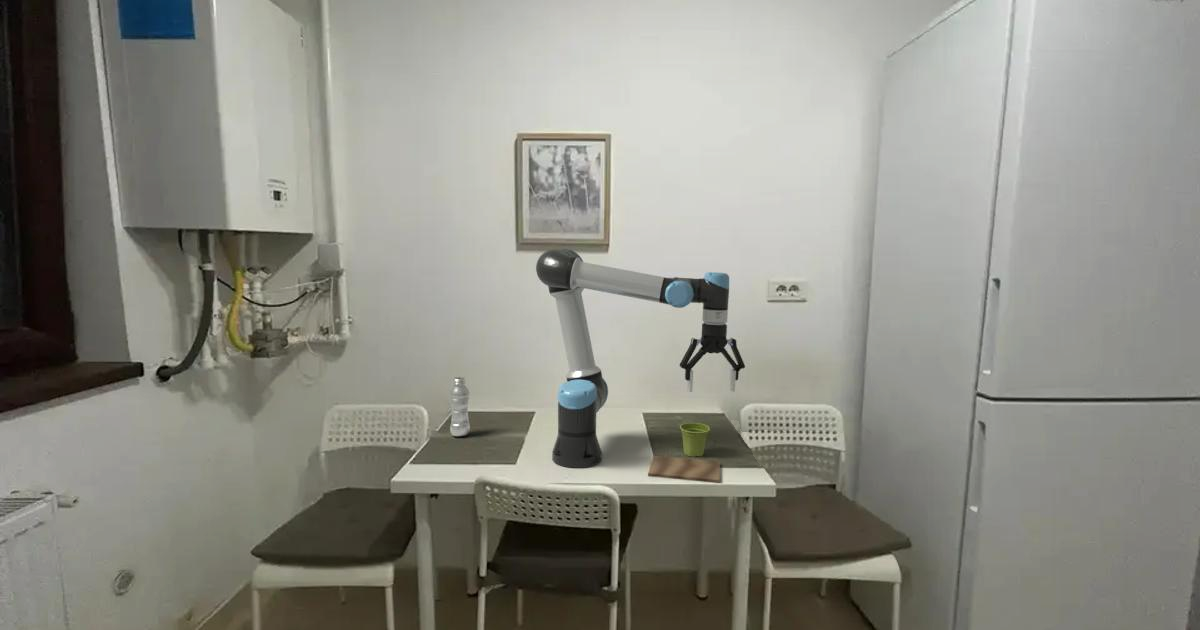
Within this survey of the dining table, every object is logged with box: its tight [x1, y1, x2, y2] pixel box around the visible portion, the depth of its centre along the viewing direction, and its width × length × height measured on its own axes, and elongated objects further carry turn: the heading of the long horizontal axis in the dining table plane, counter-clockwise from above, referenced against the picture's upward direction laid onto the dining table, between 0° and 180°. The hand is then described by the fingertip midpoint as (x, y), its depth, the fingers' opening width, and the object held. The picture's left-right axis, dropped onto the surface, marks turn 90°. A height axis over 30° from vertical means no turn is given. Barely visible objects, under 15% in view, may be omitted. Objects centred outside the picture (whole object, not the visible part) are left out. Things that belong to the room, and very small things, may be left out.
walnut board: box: [647, 455, 721, 484], centre depth 167 cm, size 20×14×1 cm
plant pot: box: [679, 422, 710, 458], centre depth 180 cm, size 9×9×9 cm
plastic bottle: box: [449, 376, 471, 437], centre depth 194 cm, size 6×7×20 cm
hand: (711, 390), depth 177 cm, fingers open, 13 cm apart
